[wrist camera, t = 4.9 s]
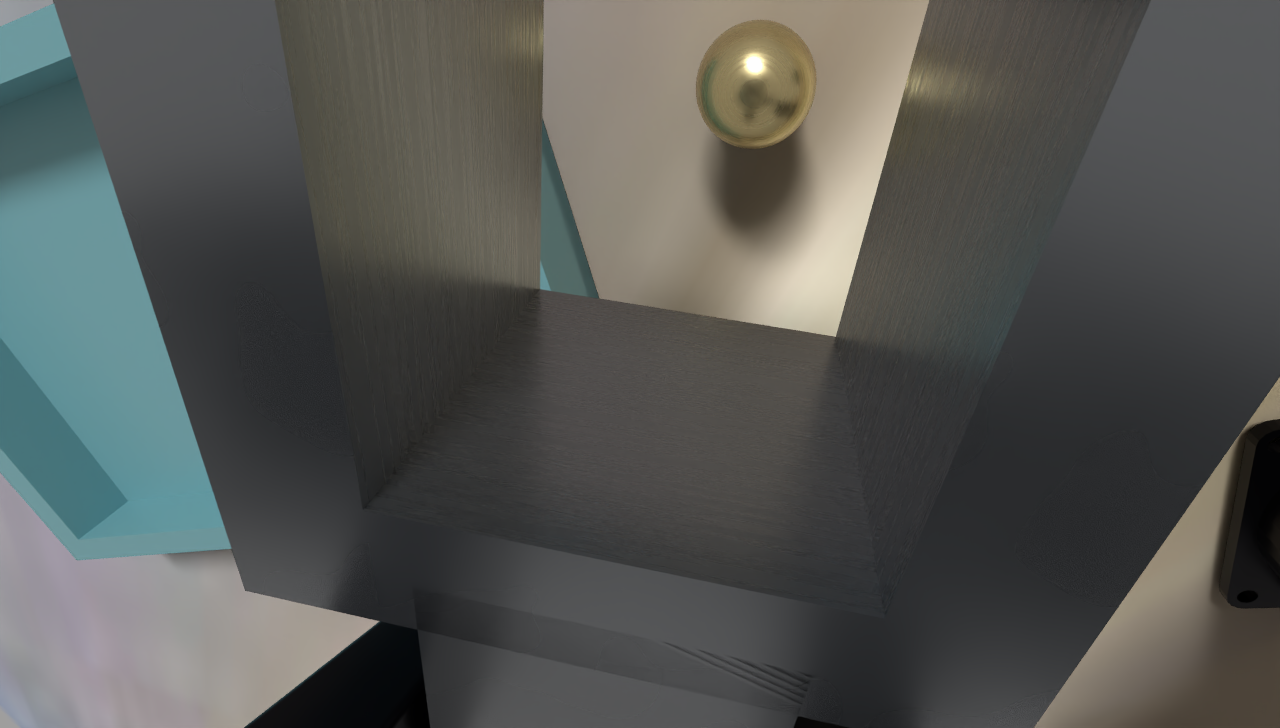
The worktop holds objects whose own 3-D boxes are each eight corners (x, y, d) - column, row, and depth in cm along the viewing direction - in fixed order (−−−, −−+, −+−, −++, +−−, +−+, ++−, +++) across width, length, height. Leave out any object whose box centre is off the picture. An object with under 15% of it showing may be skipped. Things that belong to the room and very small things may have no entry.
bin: (648, 455, 21) (630, 518, 19) (141, 508, 28) (76, 560, 25) (466, -121, 14) (398, -147, 12) (-152, 130, 21) (-282, 149, 18)
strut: (766, 817, 13) (762, 1115, 9) (479, 747, 14) (378, 1002, 10) (1144, -182, 5) (1941, -566, 2) (414, -234, 6) (-140, -583, 2)
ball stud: (818, 114, 15) (827, 144, 12) (719, 138, 16) (703, 172, 13) (803, 2, 14) (809, 4, 11) (697, 33, 15) (676, 43, 12)
